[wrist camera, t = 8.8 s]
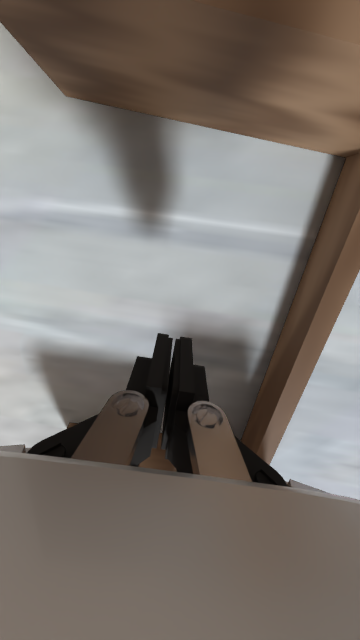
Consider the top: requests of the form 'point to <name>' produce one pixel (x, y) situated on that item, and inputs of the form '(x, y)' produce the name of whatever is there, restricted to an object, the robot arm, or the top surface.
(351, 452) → the top surface
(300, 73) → the wooden rack
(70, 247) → the top surface
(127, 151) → the top surface
